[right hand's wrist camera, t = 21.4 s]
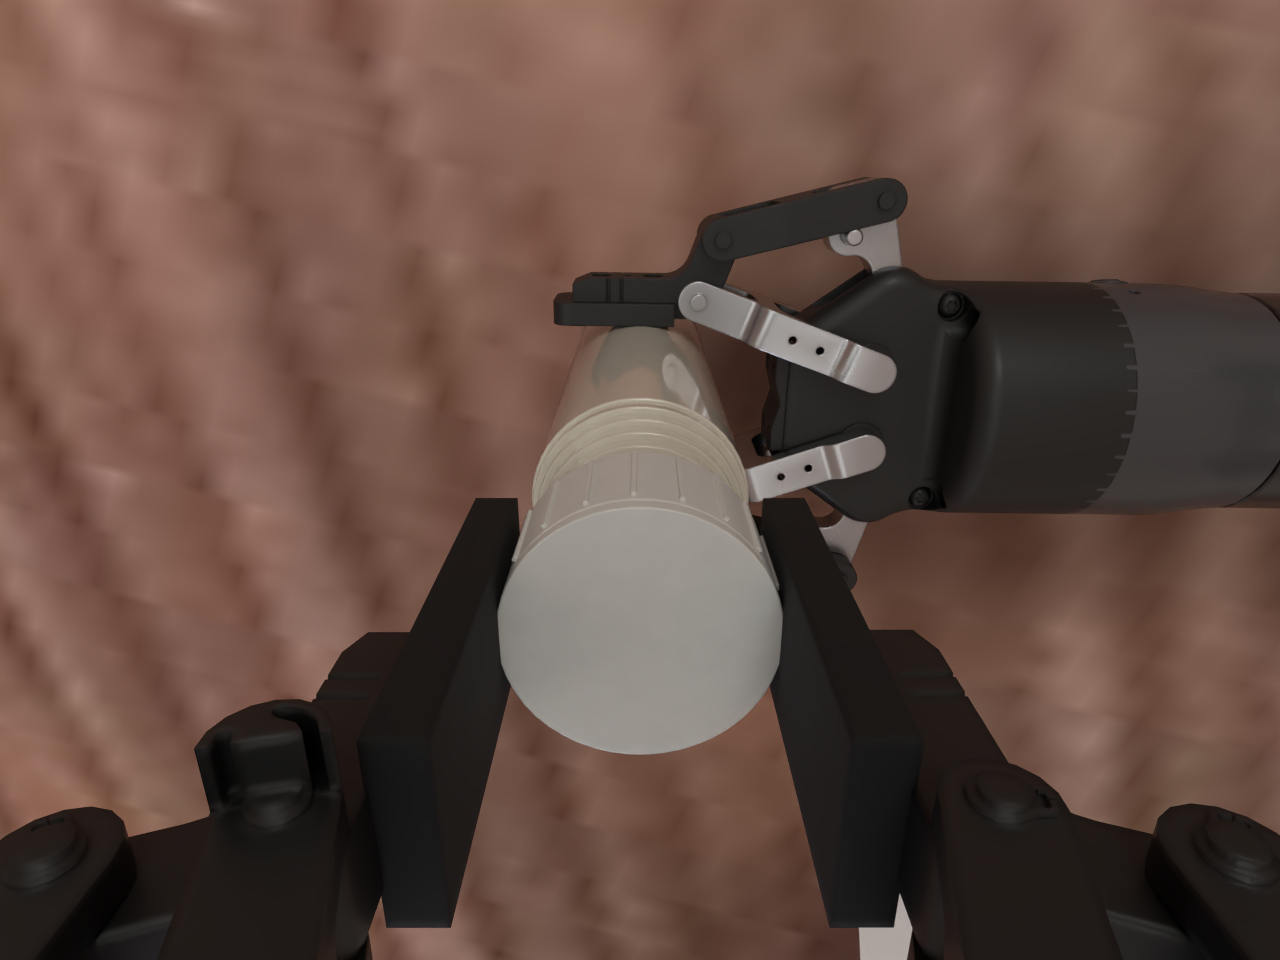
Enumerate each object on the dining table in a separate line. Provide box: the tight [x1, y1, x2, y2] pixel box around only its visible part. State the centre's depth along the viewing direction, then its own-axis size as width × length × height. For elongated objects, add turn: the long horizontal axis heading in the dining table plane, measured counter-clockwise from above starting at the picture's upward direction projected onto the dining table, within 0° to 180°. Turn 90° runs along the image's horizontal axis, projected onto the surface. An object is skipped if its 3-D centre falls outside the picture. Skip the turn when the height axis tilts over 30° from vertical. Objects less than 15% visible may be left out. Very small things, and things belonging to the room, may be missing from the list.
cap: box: [497, 451, 783, 754], centre depth 14 cm, size 5×5×2 cm
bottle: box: [532, 319, 749, 509], centre depth 22 cm, size 5×5×20 cm
